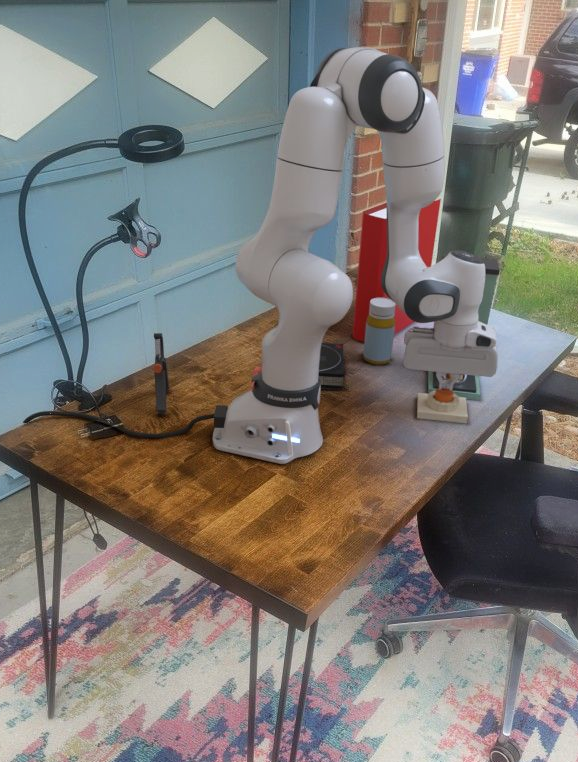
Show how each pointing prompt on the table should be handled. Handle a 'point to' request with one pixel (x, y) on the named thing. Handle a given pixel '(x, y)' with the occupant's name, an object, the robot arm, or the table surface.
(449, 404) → the control pad
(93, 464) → the table surface
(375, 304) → the bottle
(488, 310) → the mint green tower
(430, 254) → the book
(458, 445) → the table surface
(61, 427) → the table surface
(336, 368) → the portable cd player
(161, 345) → the hand grip strengthener
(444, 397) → the button
